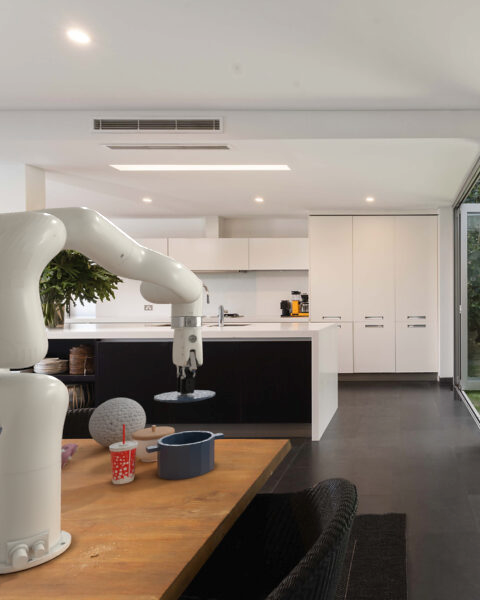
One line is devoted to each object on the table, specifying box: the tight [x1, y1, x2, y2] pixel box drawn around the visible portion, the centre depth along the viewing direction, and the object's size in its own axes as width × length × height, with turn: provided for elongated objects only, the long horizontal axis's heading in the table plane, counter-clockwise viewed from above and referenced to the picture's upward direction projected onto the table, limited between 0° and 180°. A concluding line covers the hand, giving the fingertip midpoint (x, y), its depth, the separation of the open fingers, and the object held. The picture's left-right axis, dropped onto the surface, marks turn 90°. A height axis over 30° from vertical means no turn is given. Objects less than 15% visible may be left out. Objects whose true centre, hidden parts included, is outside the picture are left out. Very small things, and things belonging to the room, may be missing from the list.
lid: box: [153, 376, 216, 404], centre depth 119 cm, size 15×15×6 cm
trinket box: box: [132, 424, 176, 463], centre depth 128 cm, size 11×11×9 cm
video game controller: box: [61, 442, 79, 469], centre depth 122 cm, size 10×5×7 cm, turn 22°
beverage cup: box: [108, 424, 138, 485], centre depth 112 cm, size 6×6×14 cm
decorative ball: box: [88, 397, 147, 448], centre depth 140 cm, size 15×15×15 cm
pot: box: [146, 430, 225, 481], centre depth 119 cm, size 14×19×8 cm
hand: (185, 392), depth 119 cm, fingers closed on lid, 2 cm apart
